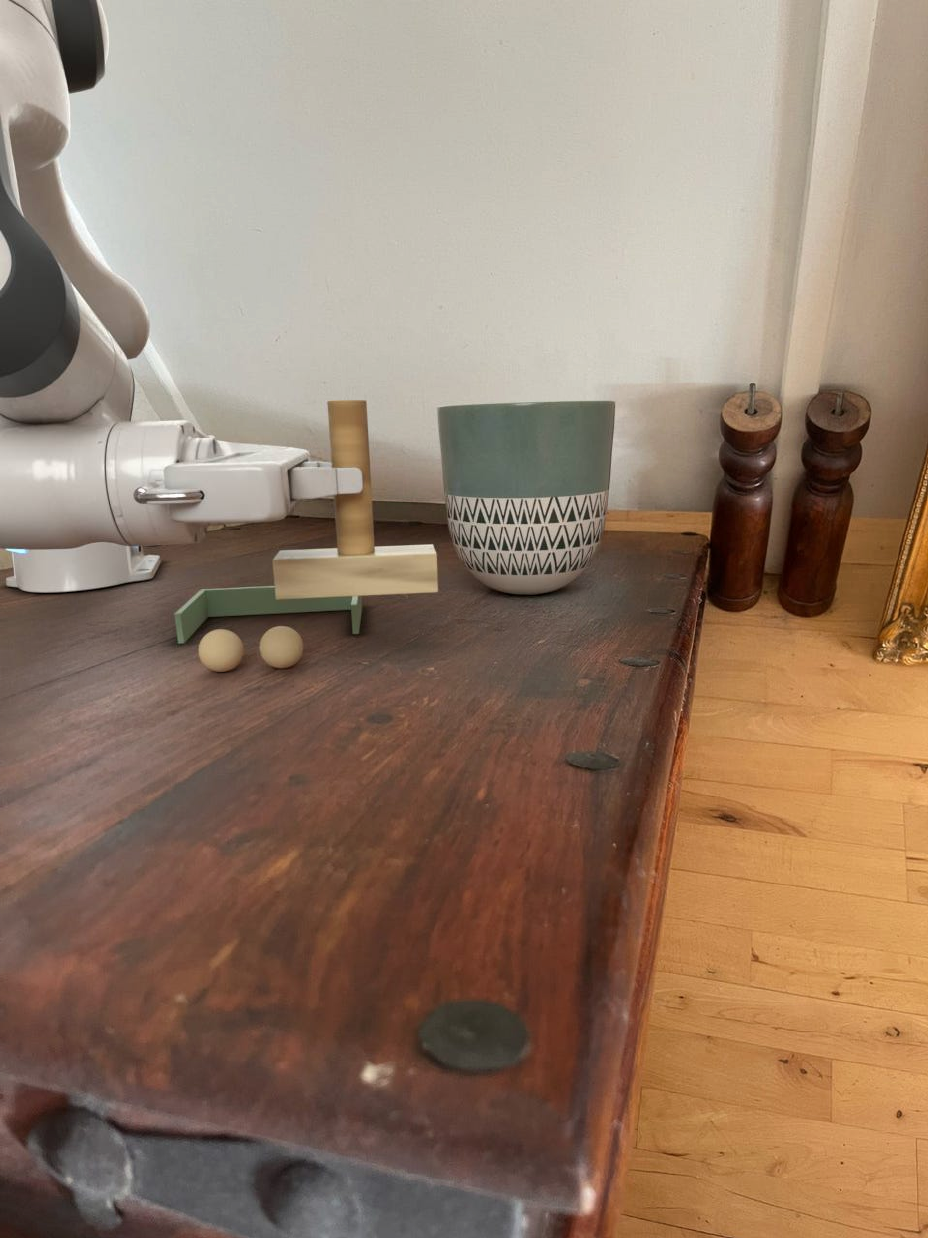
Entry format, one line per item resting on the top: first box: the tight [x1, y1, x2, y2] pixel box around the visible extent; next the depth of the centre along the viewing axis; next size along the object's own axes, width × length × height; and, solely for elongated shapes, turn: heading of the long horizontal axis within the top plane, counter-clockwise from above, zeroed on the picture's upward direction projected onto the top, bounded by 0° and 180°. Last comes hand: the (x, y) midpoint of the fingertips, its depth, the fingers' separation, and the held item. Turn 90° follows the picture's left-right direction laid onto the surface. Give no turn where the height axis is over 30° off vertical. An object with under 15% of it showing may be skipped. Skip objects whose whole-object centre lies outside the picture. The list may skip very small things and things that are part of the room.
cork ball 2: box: [259, 625, 304, 669], centre depth 63 cm, size 4×4×4 cm
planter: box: [436, 400, 616, 596], centre depth 86 cm, size 20×20×21 cm
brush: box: [271, 399, 439, 600], centre depth 55 cm, size 4×12×14 cm, turn 96°
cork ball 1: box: [197, 628, 244, 673], centre depth 63 cm, size 4×4×4 cm
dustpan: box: [173, 585, 363, 645], centre depth 81 cm, size 20×17×3 cm
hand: (363, 477), depth 55 cm, fingers closed on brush, 3 cm apart
